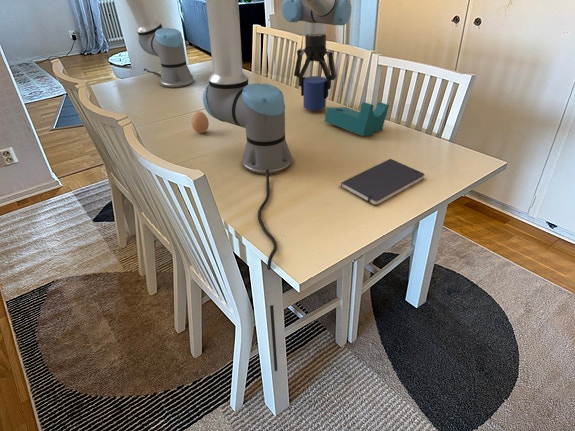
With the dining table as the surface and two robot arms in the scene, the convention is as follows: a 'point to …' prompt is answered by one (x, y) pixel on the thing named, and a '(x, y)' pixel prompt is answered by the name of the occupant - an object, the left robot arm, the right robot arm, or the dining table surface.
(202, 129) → the egg
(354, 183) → the notebook
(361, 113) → the teal l-shaped bracket
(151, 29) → the left robot arm
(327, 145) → the dining table surface
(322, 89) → the canister
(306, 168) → the dining table surface
